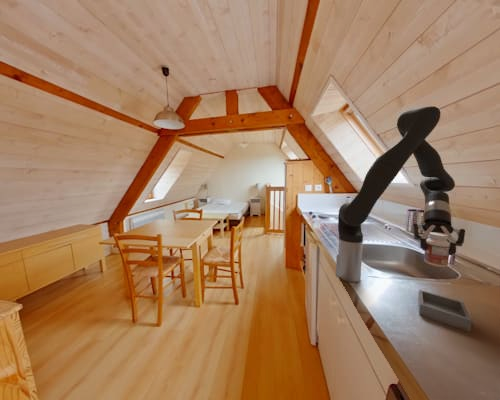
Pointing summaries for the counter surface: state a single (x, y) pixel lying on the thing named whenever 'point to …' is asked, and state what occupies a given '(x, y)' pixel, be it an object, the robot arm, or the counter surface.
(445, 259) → the pill bottle
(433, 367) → the counter surface
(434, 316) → the charcoal bin
